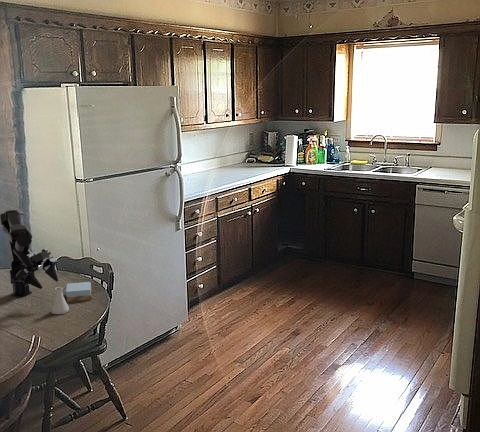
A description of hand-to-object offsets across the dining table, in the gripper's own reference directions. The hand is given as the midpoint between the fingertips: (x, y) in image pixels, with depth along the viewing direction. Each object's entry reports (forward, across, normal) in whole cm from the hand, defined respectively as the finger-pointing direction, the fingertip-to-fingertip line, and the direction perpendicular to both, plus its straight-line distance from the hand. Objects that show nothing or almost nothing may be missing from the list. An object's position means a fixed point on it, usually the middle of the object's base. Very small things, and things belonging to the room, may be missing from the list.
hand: (49, 284), depth 218 cm
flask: (+11, 0, +5) cm, 12 cm away
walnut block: (+9, +16, +7) cm, 20 cm away
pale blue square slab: (+7, +16, +6) cm, 19 cm away
